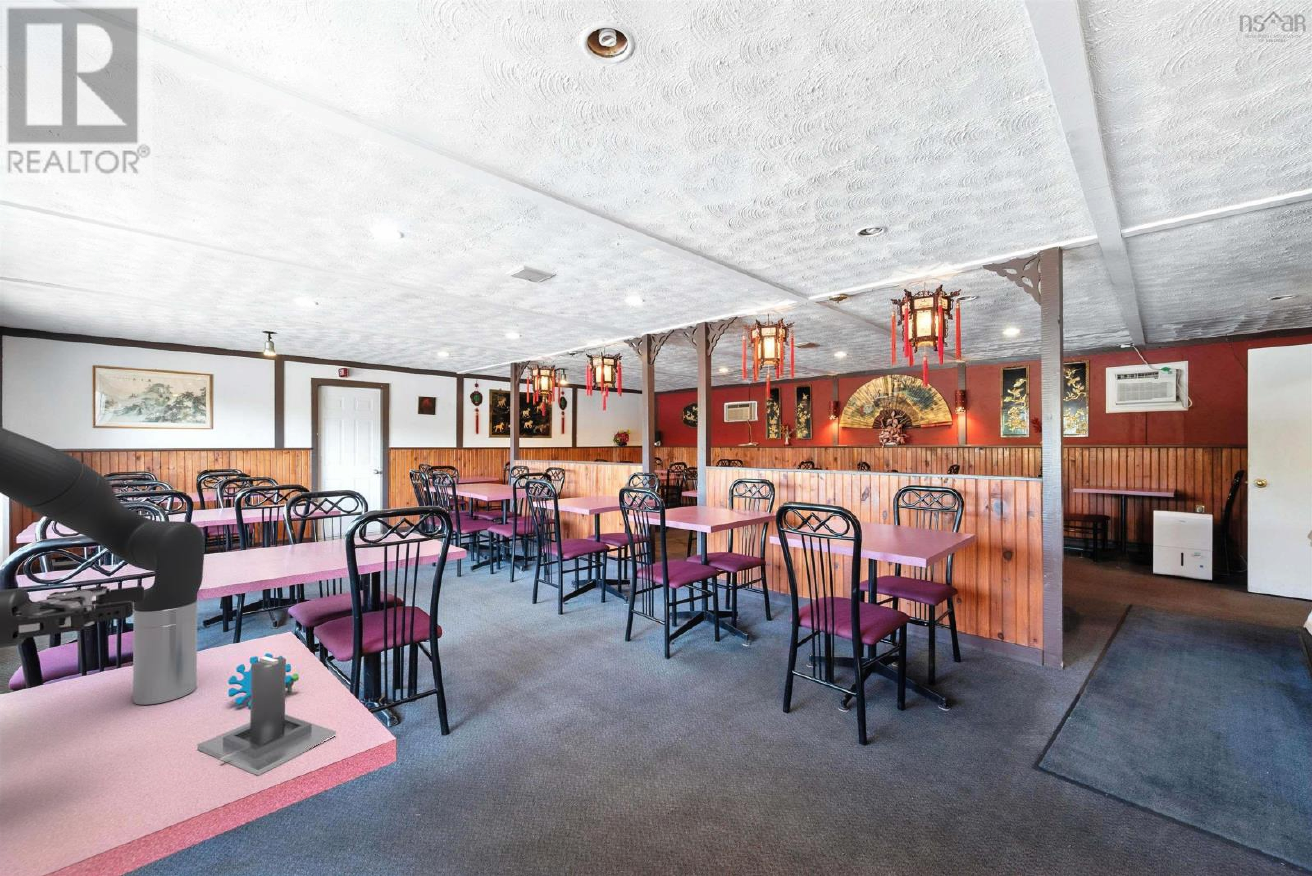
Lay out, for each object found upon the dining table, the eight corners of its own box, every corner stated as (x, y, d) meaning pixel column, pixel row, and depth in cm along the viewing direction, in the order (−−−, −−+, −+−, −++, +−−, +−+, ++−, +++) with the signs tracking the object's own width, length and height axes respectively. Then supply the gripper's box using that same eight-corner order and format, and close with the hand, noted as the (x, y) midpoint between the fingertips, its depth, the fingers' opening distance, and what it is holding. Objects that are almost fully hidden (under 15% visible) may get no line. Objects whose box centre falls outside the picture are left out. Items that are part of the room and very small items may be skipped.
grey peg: (243, 741, 89) (245, 661, 89) (274, 728, 93) (275, 652, 93) (260, 747, 87) (262, 666, 87) (290, 734, 91) (292, 656, 91)
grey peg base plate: (191, 752, 87) (191, 739, 87) (276, 715, 99) (276, 704, 99) (252, 778, 80) (252, 764, 80) (335, 736, 92) (335, 724, 92)
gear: (217, 705, 99) (238, 651, 106) (222, 718, 103) (242, 665, 110) (289, 704, 103) (304, 652, 110) (291, 716, 107) (306, 665, 114)
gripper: (-57, 609, 66) (128, 586, 76) (-9, 581, 78) (146, 564, 87) (-55, 671, 66) (129, 641, 76) (-7, 634, 78) (147, 612, 87)
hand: (138, 600), depth 82 cm, fingers open, 8 cm apart
